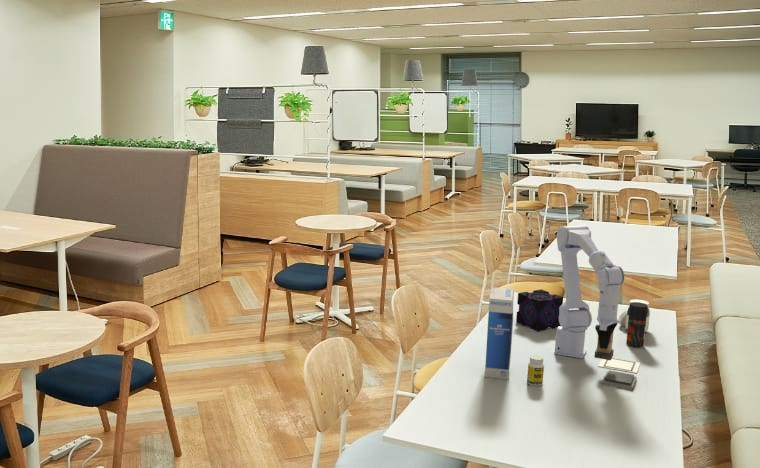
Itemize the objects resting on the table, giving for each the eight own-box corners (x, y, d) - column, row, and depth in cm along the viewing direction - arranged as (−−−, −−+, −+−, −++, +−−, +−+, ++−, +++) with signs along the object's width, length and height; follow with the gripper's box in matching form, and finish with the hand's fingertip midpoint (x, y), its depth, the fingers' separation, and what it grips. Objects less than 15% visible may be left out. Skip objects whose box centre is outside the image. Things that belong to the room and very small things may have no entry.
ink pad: (601, 384, 222) (602, 378, 221) (606, 374, 230) (607, 369, 229) (632, 389, 218) (632, 384, 218) (636, 379, 226) (636, 374, 226)
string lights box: (487, 362, 238) (491, 286, 232) (510, 364, 236) (515, 288, 231) (484, 377, 225) (488, 298, 220) (509, 380, 223) (514, 300, 218)
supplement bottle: (533, 387, 218) (535, 361, 217) (523, 381, 222) (525, 356, 221) (545, 384, 220) (547, 358, 219) (535, 379, 224) (537, 353, 223)
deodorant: (644, 348, 254) (648, 307, 251) (627, 346, 255) (631, 306, 252) (642, 342, 260) (646, 302, 257) (625, 341, 261) (628, 301, 258)
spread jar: (643, 337, 266) (646, 307, 263) (612, 331, 272) (615, 301, 269) (651, 328, 276) (654, 299, 273) (621, 323, 282) (624, 294, 279)
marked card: (598, 366, 236) (598, 365, 236) (603, 356, 245) (603, 355, 245) (636, 373, 231) (636, 372, 231) (640, 363, 240) (640, 362, 240)
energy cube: (561, 327, 275) (563, 297, 273) (537, 331, 269) (539, 301, 267) (539, 318, 285) (541, 289, 283) (516, 322, 279) (518, 293, 277)
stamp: (594, 357, 227) (596, 333, 226) (597, 352, 232) (599, 328, 230) (610, 360, 225) (612, 336, 224) (613, 355, 230) (615, 331, 228)
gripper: (618, 312, 217) (614, 355, 220) (624, 300, 230) (621, 341, 232) (594, 309, 220) (590, 351, 223) (602, 297, 233) (598, 337, 235)
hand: (604, 345), depth 228 cm, fingers closed on stamp, 4 cm apart
